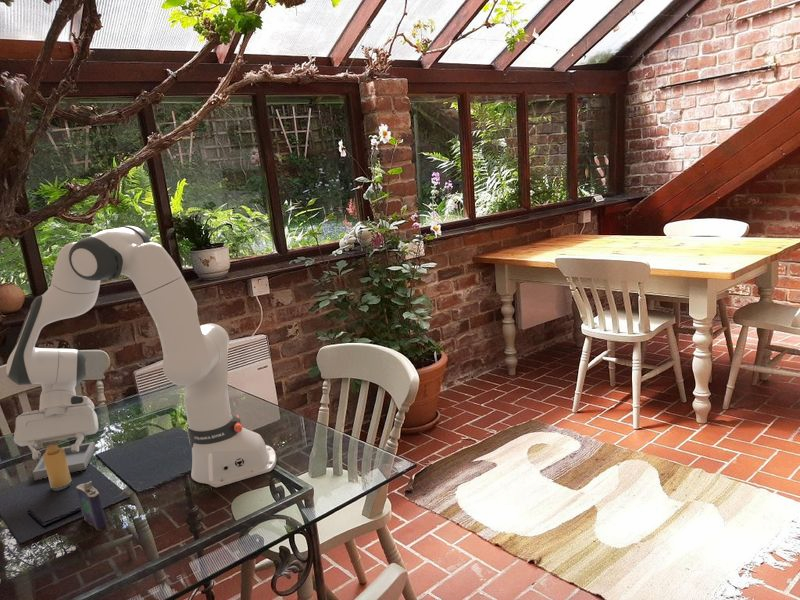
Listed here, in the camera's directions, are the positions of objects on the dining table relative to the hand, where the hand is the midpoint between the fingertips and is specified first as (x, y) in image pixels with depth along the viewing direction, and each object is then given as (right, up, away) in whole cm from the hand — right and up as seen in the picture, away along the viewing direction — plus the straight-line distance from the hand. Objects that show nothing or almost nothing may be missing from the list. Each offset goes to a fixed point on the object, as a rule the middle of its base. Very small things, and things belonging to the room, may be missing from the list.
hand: (55, 455), depth 161 cm
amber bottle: (+1, -9, +1) cm, 9 cm away
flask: (+19, -12, -17) cm, 28 cm away
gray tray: (-4, -6, +13) cm, 15 cm away
